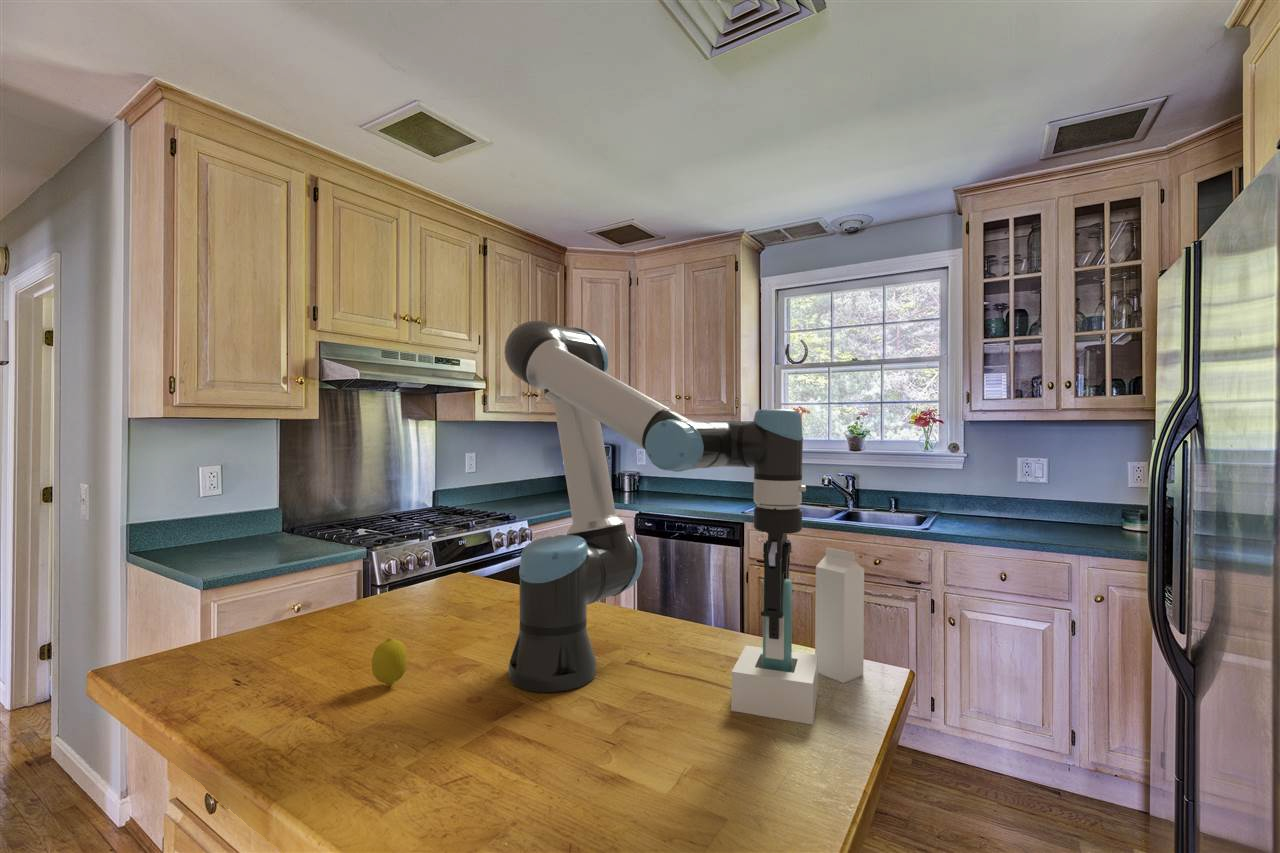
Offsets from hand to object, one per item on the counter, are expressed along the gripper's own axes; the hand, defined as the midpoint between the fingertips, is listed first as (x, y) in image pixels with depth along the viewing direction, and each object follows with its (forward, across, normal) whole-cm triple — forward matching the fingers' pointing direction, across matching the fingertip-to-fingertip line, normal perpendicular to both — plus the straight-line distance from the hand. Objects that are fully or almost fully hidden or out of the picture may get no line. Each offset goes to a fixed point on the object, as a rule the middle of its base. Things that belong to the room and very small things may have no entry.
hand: (776, 651), depth 96 cm
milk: (+8, +15, -9) cm, 19 cm away
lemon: (+8, -18, +61) cm, 64 cm away
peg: (+3, 0, 0) cm, 3 cm away
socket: (+8, 0, 0) cm, 8 cm away
